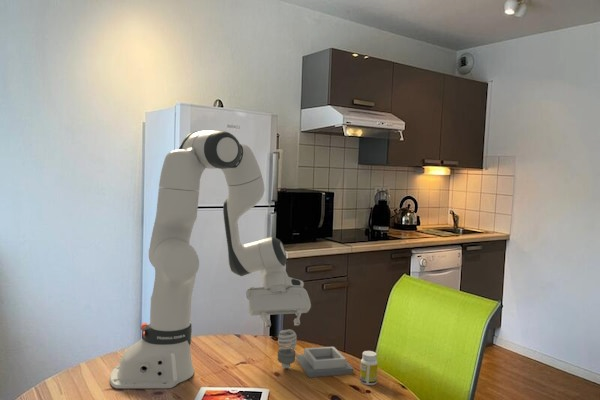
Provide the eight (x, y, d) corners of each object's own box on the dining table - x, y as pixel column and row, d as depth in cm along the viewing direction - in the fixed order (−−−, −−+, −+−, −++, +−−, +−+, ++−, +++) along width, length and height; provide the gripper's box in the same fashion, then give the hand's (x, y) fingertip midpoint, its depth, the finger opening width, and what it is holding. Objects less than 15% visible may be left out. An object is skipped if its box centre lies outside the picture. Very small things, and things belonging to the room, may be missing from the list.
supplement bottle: (377, 379, 132) (379, 351, 132) (375, 386, 128) (377, 357, 127) (360, 377, 133) (362, 349, 133) (358, 384, 129) (360, 355, 128)
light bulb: (296, 365, 139) (298, 327, 138) (294, 373, 134) (296, 333, 133) (278, 364, 140) (279, 325, 139) (275, 371, 134) (277, 331, 133)
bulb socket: (308, 377, 131) (309, 363, 131) (296, 359, 144) (296, 347, 144) (353, 373, 136) (353, 360, 135) (337, 356, 148) (337, 344, 148)
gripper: (247, 282, 145) (251, 322, 136) (307, 281, 151) (316, 319, 142) (244, 292, 149) (248, 332, 141) (302, 290, 156) (310, 328, 147)
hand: (283, 325), depth 142 cm, fingers open, 8 cm apart
